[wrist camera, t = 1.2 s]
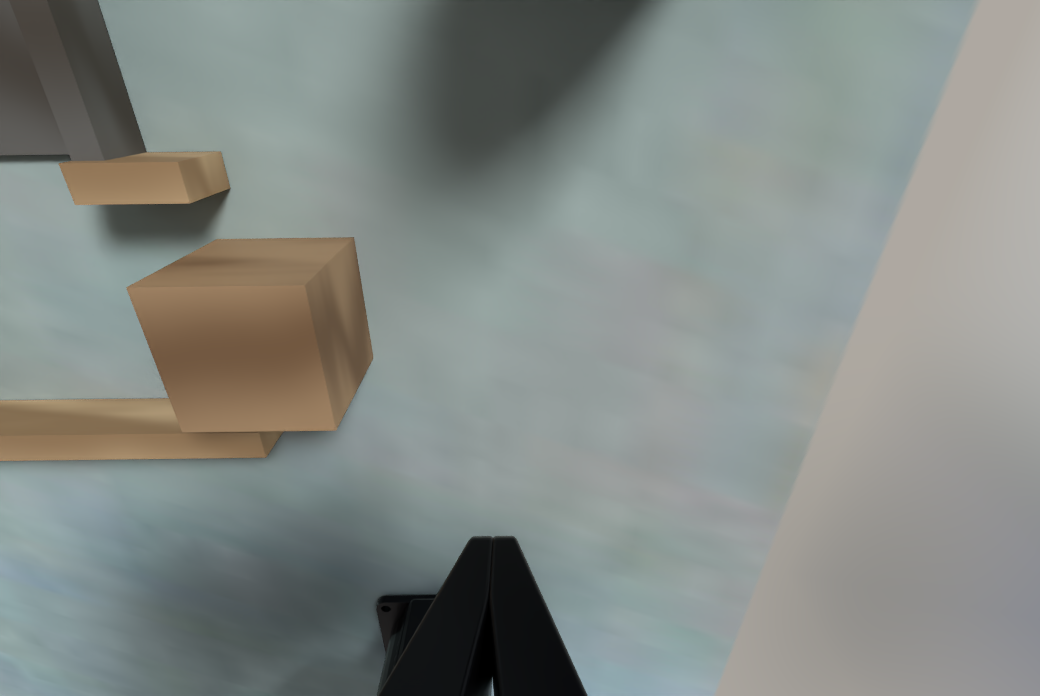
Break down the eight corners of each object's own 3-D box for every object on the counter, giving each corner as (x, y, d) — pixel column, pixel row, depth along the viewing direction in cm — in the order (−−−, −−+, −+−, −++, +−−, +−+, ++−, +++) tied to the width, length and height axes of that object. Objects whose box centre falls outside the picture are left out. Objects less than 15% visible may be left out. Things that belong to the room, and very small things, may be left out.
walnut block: (373, 357, 21) (336, 430, 17) (252, 358, 21) (182, 432, 17) (354, 236, 19) (304, 285, 14) (218, 238, 19) (126, 287, 14)
